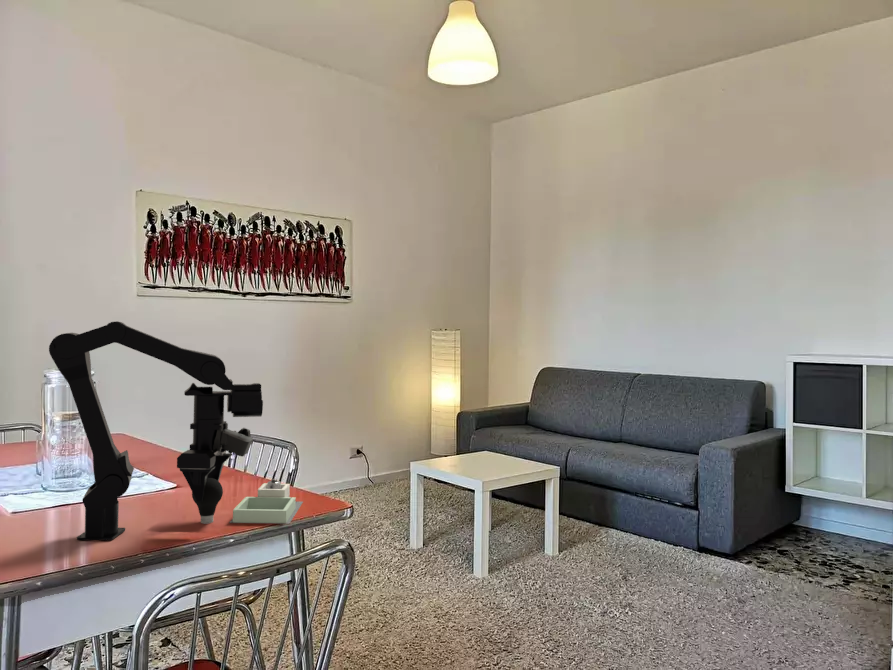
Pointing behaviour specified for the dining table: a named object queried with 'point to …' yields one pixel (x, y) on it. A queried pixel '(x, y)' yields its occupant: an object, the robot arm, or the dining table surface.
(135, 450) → the dining table surface
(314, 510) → the dining table surface
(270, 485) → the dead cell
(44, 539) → the dining table surface
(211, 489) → the light bulb
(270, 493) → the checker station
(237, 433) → the robot arm
